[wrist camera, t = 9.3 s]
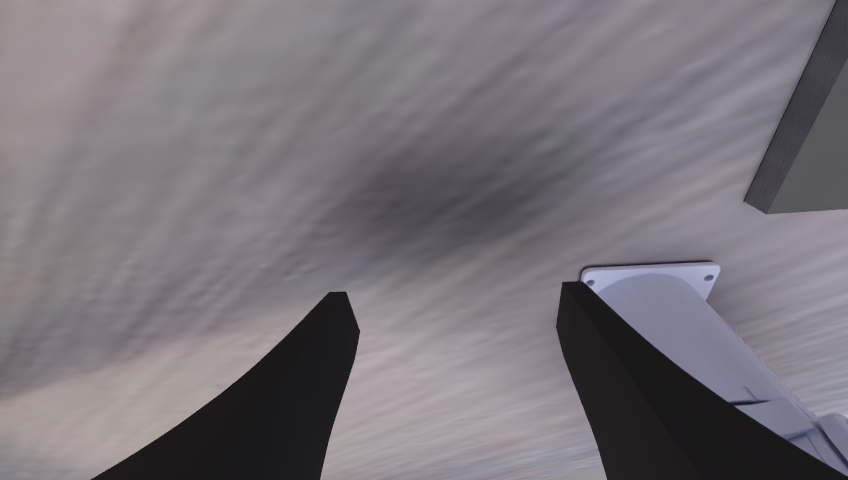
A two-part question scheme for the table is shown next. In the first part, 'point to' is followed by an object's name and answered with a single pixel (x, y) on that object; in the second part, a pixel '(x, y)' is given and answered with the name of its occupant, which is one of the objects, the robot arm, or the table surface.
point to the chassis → (811, 134)
